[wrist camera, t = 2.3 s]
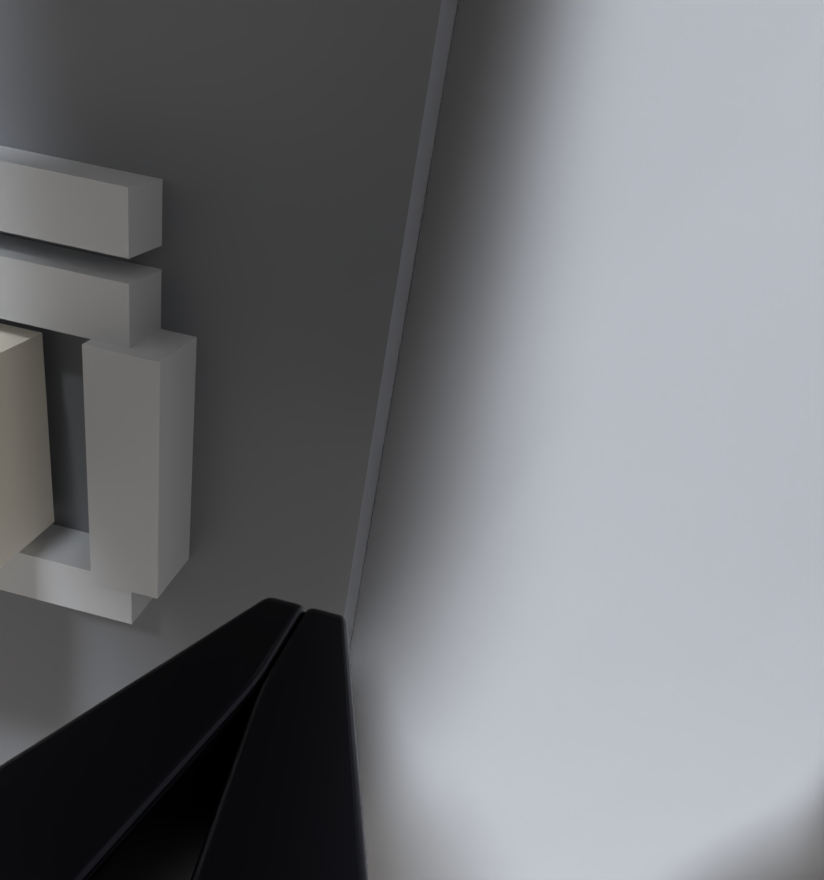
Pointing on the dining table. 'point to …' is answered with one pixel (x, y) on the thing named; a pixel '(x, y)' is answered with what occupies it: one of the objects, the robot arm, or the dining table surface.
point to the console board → (202, 313)
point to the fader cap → (23, 442)
